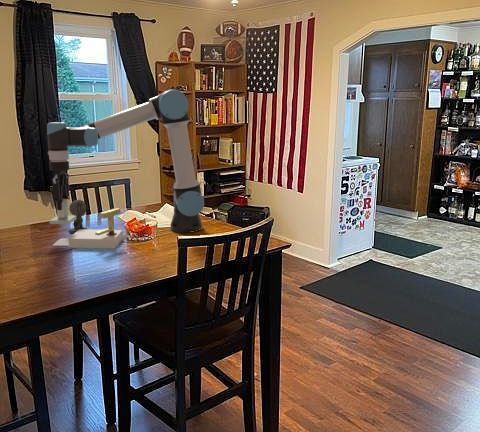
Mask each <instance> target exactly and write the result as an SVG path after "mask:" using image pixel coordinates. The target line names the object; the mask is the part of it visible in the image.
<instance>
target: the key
mask: <svg viewBox="0 0 480 432" xmlns="http://www.w3.org/2000/svg"><path fill="white" fill-rule="evenodd" d="M121 211H122V210H121V208H118V207H116V208H112V209H108V210H105V211H102V212H99V218H100V219H103V220H105V219H107V226H108V227H107V228H105V229H100V230H101V231H98V232H95V235H101V234H104V233H107V232H109V234H110V235H112V234H114V230H115V219H114V217H115V216H118V215H120V214H122V213H121Z"/></svg>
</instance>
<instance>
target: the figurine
mask: <svg viewBox="0 0 480 432" xmlns="http://www.w3.org/2000/svg"><path fill="white" fill-rule="evenodd" d="M68 211H69V212H70V214H71V216H76V220H74V221H73V222H72V225H73V228H70V229H68V230H67V232H68V233H69V234H70V235H73V234H74V233H76V232H77V231H78V230H79V229H88V227H84V226H83V222H84V219H83V216H85V215H86V213H87V204H86V203H85V201H84V200H81V199H75V200H73V201H71V202H70V204H69V206H68Z"/></svg>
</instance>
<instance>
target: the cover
mask: <svg viewBox="0 0 480 432" xmlns="http://www.w3.org/2000/svg"><path fill="white" fill-rule="evenodd" d="M67 200H68V199H62V202H64V216H65V217H64V218H63V217H57V215H55V216H54V217H53V218H51V219H50V220H49V221H48V222H49V225H70V224H71V223H72V224H73V223H74V220H76V216H74V215H69V214H68V213H69V207H68V208H67Z"/></svg>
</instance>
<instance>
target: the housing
mask: <svg viewBox="0 0 480 432" xmlns="http://www.w3.org/2000/svg"><path fill="white" fill-rule="evenodd" d="M101 230H102V229H89V228H87V229H79V230H78V231H77V232H76V233H74V234H71V236H70V237H68V242H69V246H68V248H69V249H74V248H75V249H116V248H117V247H118V246H119V244H120V243H121V242H122V240H123V239H124V231H123V229H114V234H112V235H110V234H109V232H107V233H104V234H101V235H95V232H98V231H101Z"/></svg>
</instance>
